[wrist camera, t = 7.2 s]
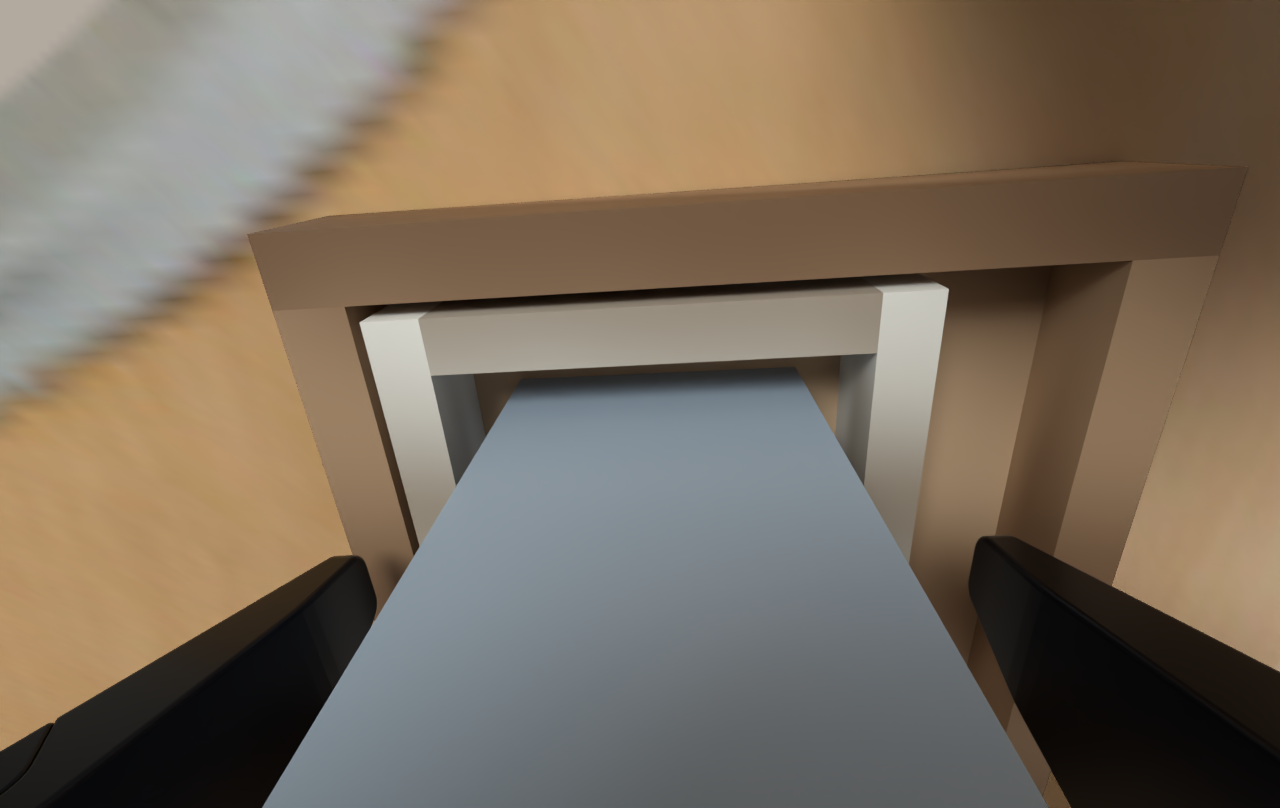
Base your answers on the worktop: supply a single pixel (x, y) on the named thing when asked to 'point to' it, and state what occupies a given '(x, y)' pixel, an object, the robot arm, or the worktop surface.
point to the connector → (658, 625)
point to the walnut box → (783, 344)
